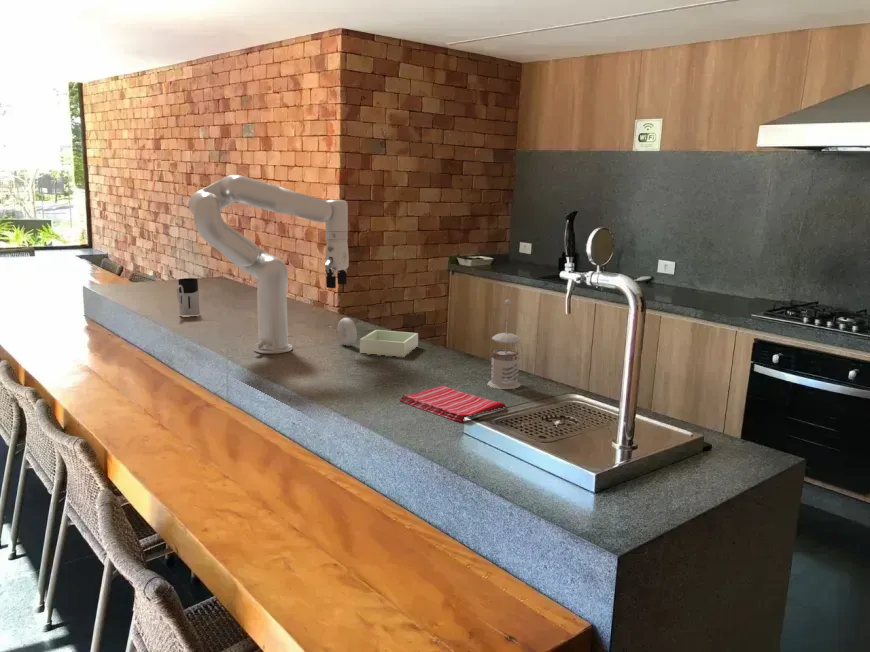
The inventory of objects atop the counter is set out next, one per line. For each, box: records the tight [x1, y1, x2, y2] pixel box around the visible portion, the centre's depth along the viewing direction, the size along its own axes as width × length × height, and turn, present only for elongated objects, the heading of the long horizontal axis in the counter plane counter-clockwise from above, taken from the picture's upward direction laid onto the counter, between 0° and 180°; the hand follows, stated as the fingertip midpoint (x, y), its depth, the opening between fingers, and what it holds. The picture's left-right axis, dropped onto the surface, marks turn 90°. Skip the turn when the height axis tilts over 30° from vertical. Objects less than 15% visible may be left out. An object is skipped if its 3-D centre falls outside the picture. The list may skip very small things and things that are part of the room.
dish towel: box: [399, 385, 507, 424], centre depth 185 cm, size 17×24×3 cm
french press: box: [487, 299, 524, 390], centre depth 203 cm, size 10×12×25 cm
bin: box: [359, 329, 419, 358], centre depth 242 cm, size 16×16×5 cm
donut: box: [336, 317, 358, 347], centre depth 247 cm, size 10×4×10 cm, turn 37°
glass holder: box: [176, 277, 201, 315], centre depth 290 cm, size 9×14×15 cm, turn 174°
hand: (336, 285), depth 246 cm, fingers open, 9 cm apart
